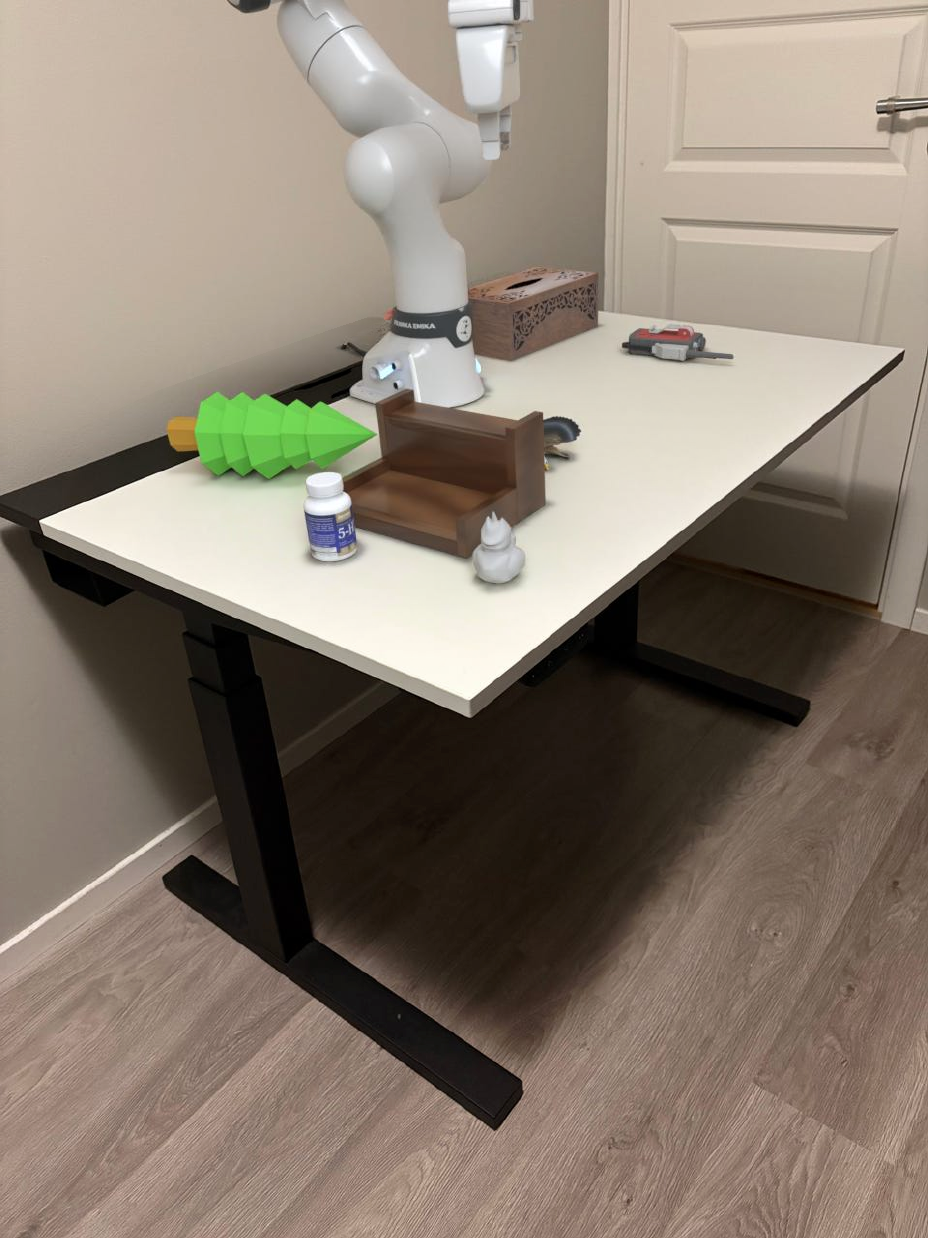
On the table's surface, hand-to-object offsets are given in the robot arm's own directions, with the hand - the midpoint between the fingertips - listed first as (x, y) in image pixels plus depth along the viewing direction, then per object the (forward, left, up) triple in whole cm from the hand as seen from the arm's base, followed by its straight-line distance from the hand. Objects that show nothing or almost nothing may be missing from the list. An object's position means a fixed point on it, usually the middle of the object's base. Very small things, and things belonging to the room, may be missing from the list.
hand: (497, 154), depth 104 cm
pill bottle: (-5, -29, -37) cm, 48 cm away
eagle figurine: (+2, +3, -37) cm, 38 cm away
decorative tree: (-28, -16, -37) cm, 49 cm away
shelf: (-1, -15, -37) cm, 40 cm away
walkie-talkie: (-3, +55, -37) cm, 67 cm away
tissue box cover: (-34, +54, -38) cm, 74 cm away
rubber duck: (+15, -24, -37) cm, 47 cm away
